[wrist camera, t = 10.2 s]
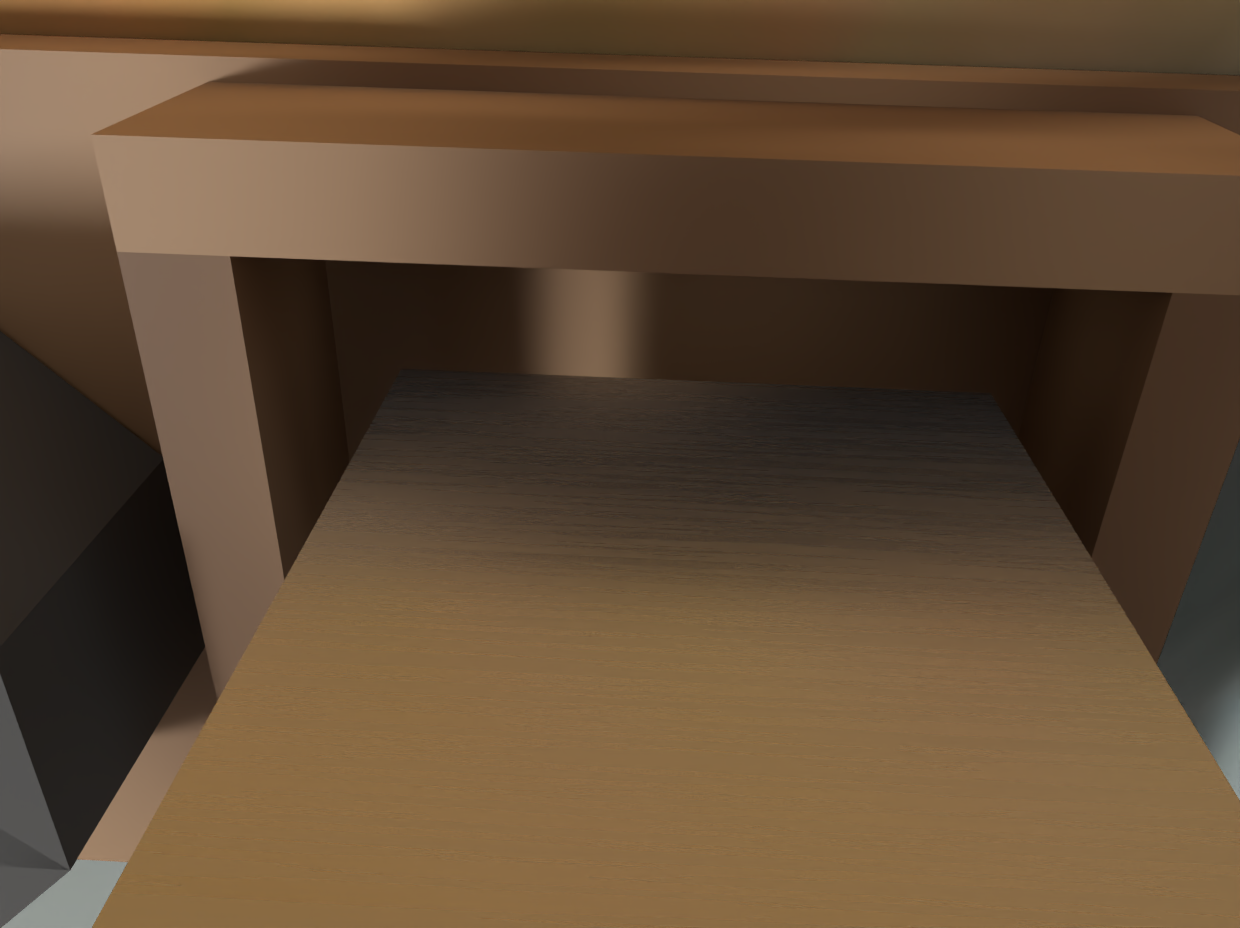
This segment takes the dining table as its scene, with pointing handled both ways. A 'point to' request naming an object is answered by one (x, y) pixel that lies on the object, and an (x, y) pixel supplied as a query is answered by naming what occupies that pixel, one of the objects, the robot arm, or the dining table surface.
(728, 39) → the dining table surface
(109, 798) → the octagonal knob base
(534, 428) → the block
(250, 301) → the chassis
